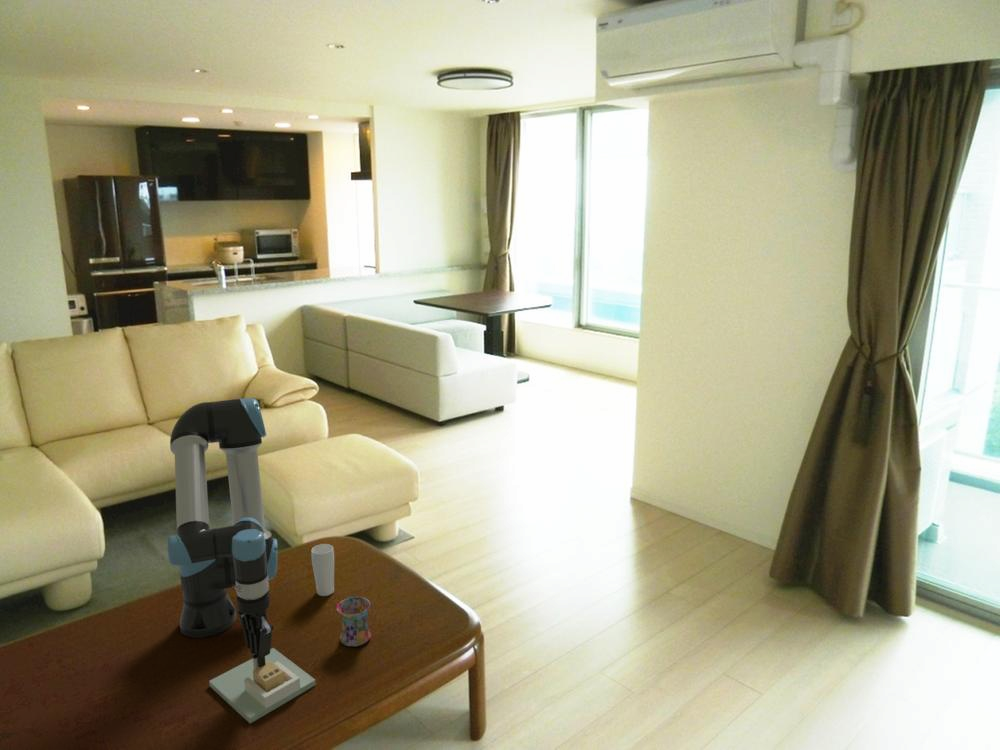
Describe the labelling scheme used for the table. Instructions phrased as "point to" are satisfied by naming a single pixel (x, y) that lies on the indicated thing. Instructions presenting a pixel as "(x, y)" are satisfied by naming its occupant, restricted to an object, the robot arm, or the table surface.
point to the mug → (354, 621)
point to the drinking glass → (323, 568)
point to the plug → (268, 676)
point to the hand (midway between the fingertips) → (260, 676)
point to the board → (253, 698)
